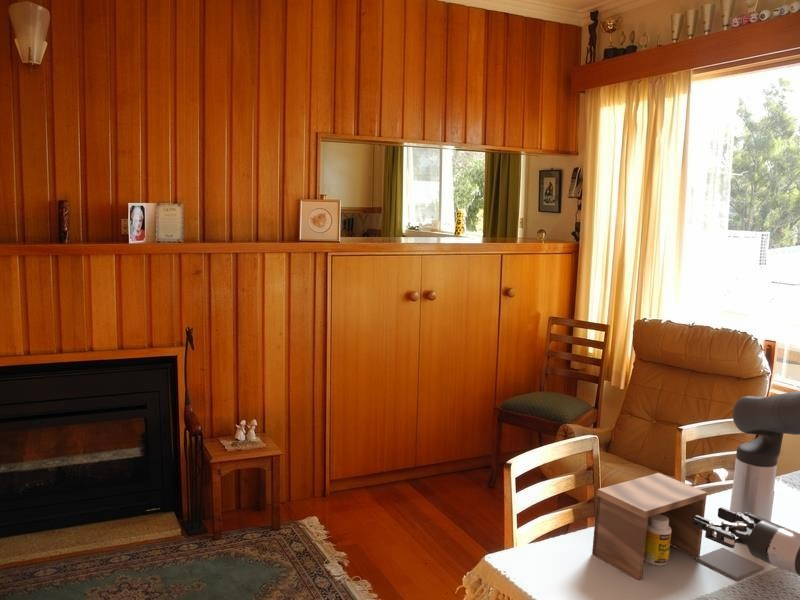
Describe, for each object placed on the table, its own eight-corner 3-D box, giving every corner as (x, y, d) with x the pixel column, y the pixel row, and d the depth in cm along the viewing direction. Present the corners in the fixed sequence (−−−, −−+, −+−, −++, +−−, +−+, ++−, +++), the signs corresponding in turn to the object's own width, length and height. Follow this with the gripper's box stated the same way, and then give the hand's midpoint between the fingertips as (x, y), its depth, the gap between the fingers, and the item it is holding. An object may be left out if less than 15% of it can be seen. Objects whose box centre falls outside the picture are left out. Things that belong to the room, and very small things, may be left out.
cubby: (652, 533, 183) (658, 472, 181) (699, 557, 173) (706, 492, 170) (592, 554, 172) (597, 489, 169) (638, 580, 161) (645, 511, 159)
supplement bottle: (657, 569, 166) (661, 525, 165) (636, 558, 171) (641, 515, 169) (673, 563, 169) (678, 519, 168) (652, 552, 174) (657, 510, 172)
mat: (722, 549, 177) (722, 547, 177) (763, 568, 168) (763, 566, 168) (696, 560, 171) (696, 557, 171) (736, 580, 163) (736, 577, 163)
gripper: (803, 521, 149) (728, 492, 162) (762, 536, 141) (686, 504, 154) (799, 557, 150) (724, 525, 163) (758, 574, 142) (683, 539, 155)
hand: (706, 515), depth 158 cm, fingers open, 8 cm apart
